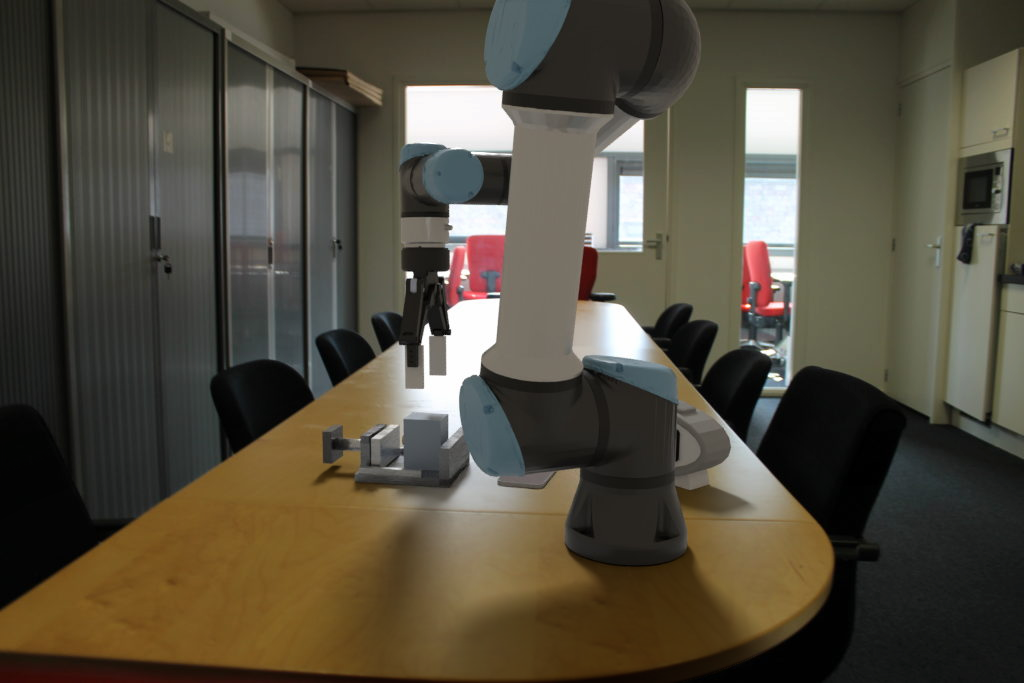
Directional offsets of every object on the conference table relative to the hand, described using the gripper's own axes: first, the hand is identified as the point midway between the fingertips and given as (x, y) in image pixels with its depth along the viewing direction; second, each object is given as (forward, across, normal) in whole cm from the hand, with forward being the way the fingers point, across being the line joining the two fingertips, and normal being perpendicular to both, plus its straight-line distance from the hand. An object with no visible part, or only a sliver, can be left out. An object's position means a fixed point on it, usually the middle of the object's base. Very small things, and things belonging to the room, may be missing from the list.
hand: (426, 381), depth 131 cm
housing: (+14, 0, 0) cm, 14 cm away
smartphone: (+16, +4, -16) cm, 23 cm away
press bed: (+15, +1, +2) cm, 15 cm away
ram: (+13, +1, +12) cm, 18 cm away
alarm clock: (+15, +7, -36) cm, 40 cm away
